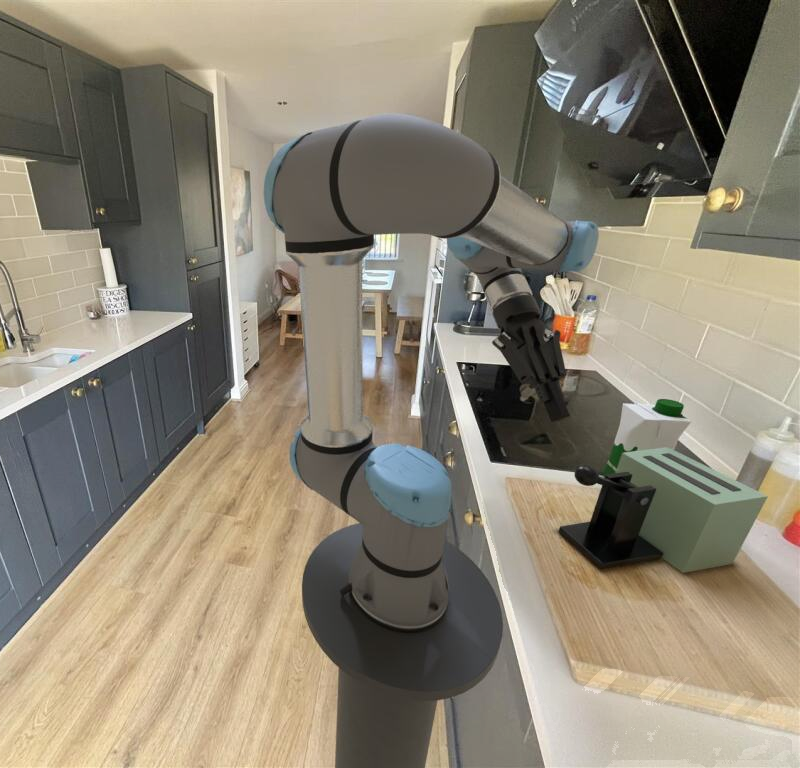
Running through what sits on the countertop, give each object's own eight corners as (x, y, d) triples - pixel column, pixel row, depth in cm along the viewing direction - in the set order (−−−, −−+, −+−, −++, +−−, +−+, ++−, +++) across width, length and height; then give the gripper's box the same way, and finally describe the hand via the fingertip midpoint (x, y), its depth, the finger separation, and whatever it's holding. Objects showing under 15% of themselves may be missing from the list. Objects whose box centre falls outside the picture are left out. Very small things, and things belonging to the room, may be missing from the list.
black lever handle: (582, 487, 62) (594, 470, 61) (565, 475, 65) (577, 459, 64) (635, 505, 66) (648, 490, 65) (617, 493, 69) (629, 479, 68)
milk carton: (666, 499, 82) (701, 413, 75) (617, 495, 84) (647, 410, 76) (639, 474, 90) (668, 394, 83) (594, 471, 92) (619, 392, 84)
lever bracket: (600, 570, 66) (624, 503, 61) (558, 532, 74) (576, 470, 69) (661, 559, 68) (689, 493, 63) (613, 523, 76) (635, 462, 71)
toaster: (682, 573, 65) (715, 503, 60) (601, 512, 79) (622, 451, 74) (732, 564, 67) (768, 495, 61) (644, 506, 80) (667, 446, 75)
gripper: (529, 313, 81) (576, 421, 72) (471, 317, 79) (513, 429, 70) (555, 290, 75) (611, 407, 66) (492, 294, 73) (542, 415, 64)
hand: (560, 418), depth 68 cm, fingers closed
